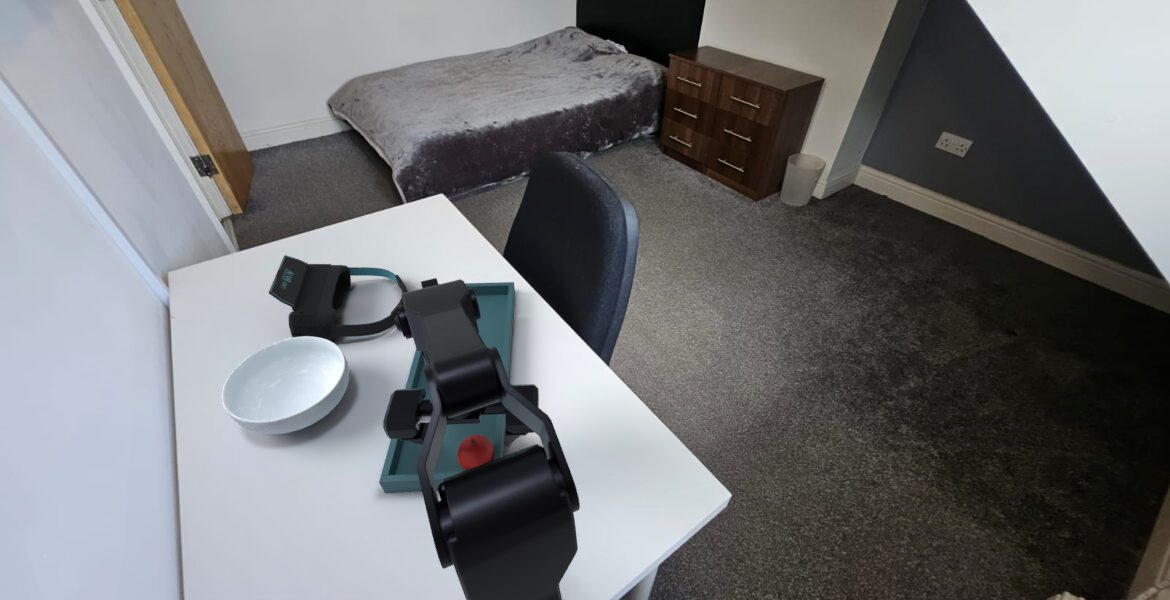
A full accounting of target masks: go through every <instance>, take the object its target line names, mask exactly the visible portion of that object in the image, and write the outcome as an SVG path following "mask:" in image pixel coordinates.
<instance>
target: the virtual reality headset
mask: <svg viewBox="0 0 1170 600" xmlns="http://www.w3.org/2000/svg"><path fill="white" fill-rule="evenodd" d="M351 276H353V277H355V276H356V277H357V276H361V277H362V276H367V277H368V276H369V277H381V278H382V277H383V278H387V279H390V280H392V281H394V282H395V283H396V284H397V285H398V287H399V288H400V290H401V298H400V300H399V302H398V303H397V305H396V306H395V307H394V308H393V310H392V311H391V312H390V314H389V315H388V316H386V317H384V318H383V319H380V320H377V321H374V322H369V323H358V324H338V321H339V320H338V316H337V315H338V314H337V311H336V308H339V307H341V306H342V304H343V302H344V300H345V296H346V294H347V293H348V291H350V289H351V287H352V278H351ZM405 284H406V283H404V281H403V279H402V278H401V277H400V275H398V274H395V273H394V272H393V271H390V270H388V269H385V268H381V267H380V268H379V267H367V266H366V267H364V266H363V267H362V266H361V267H359V266H358V267H356V266H355V267H354V266H353V267H351V266H350V267H349V266H348V265H344V264H331V263H308V262H306V261H304V260H301V259H299V258H296V257H293V256H289V255H287V254H285V255H283V258H282V259H281V261H280V265H279V267H278V269H277V272H276V274H275V276H274V279H273V281H272V284H271V286H270V288H269V289H268V295H270V296H272V297H273V298H274V299H276V300H278V302H280V303H281V304H283V305H284V304H285V305H287V306H289V307H290V308H291V312H289V314H288V328H289V331H290V334H291V338H294V337H303V336H311V337H319V338H323V339H327V340H337V339H339V338H343V337H345V338H346V337H349V338H350V337H365V336H372V335H377V334H380V333H383V332H385V331H388V330H389V329H391V328H392V327H394V326H396V324H395V320H394V318H395V317H396V315H397V313H396V312H397V311H398V308H397V306H399V305H404V304H403V298H402V295H403V293H406V292H409V291H408V288H407V286H406V285H405Z"/></svg>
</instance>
